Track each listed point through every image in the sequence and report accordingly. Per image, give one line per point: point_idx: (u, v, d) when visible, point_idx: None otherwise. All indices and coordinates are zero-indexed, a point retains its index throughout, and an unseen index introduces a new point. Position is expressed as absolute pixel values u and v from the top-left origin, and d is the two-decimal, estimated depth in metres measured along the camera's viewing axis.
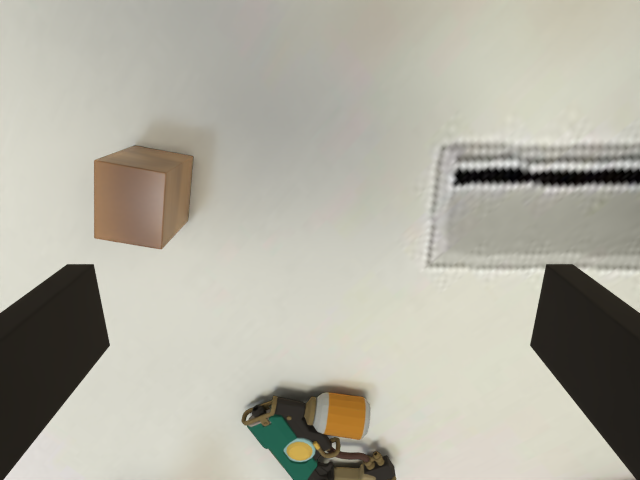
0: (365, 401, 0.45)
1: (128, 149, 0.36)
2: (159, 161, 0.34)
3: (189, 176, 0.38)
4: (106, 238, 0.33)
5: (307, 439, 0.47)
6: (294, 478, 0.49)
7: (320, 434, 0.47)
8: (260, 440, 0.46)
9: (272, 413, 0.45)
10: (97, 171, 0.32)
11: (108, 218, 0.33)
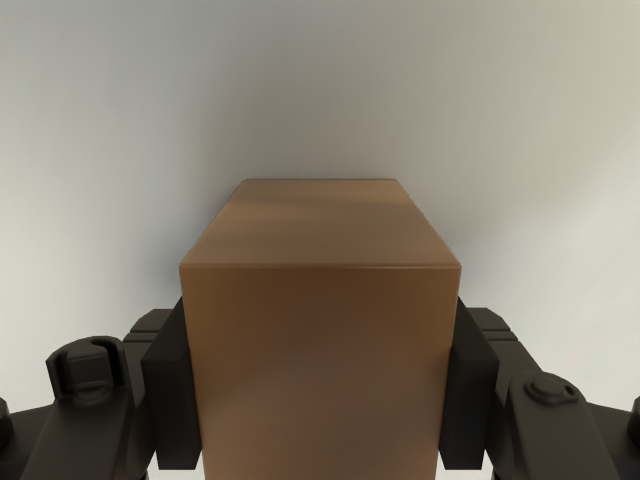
0: None
1: (243, 193, 0.13)
2: (362, 215, 0.11)
3: None
4: None
5: None
6: None
7: None
8: None
9: None
10: (196, 302, 0.08)
11: (251, 448, 0.09)
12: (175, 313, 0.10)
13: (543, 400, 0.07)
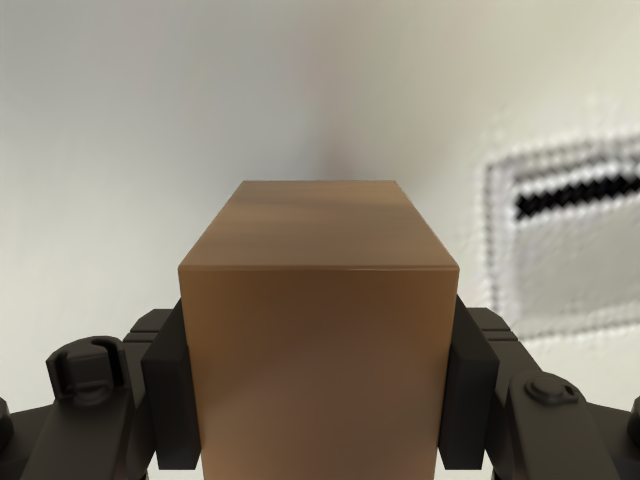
0: None
1: (242, 194, 0.13)
2: (361, 216, 0.11)
3: None
4: None
5: None
6: None
7: None
8: None
9: None
10: (194, 304, 0.08)
11: (250, 449, 0.09)
12: (175, 313, 0.10)
13: (543, 400, 0.07)
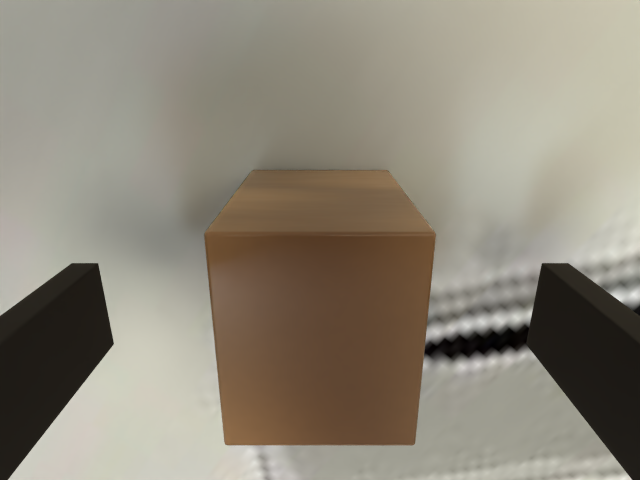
0: None
1: (252, 181, 0.15)
2: (356, 197, 0.13)
3: None
4: (258, 441, 0.12)
5: None
6: None
7: None
8: None
9: None
10: (218, 264, 0.10)
11: (262, 392, 0.11)
12: None
13: None
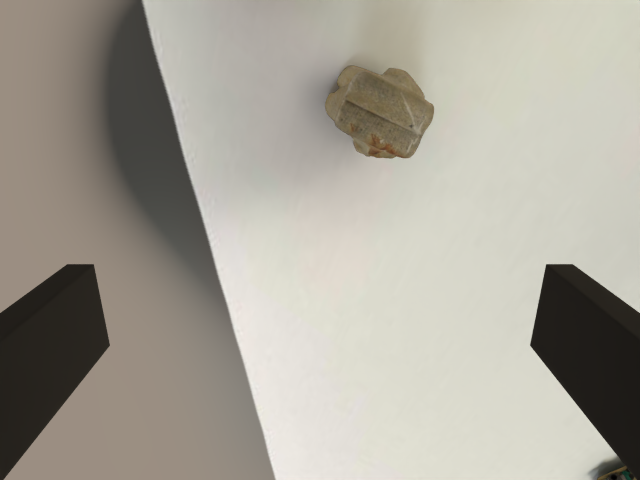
0: None
1: None
2: None
3: None
4: None
5: None
6: None
7: None
8: None
9: None
10: None
11: None
12: None
13: None
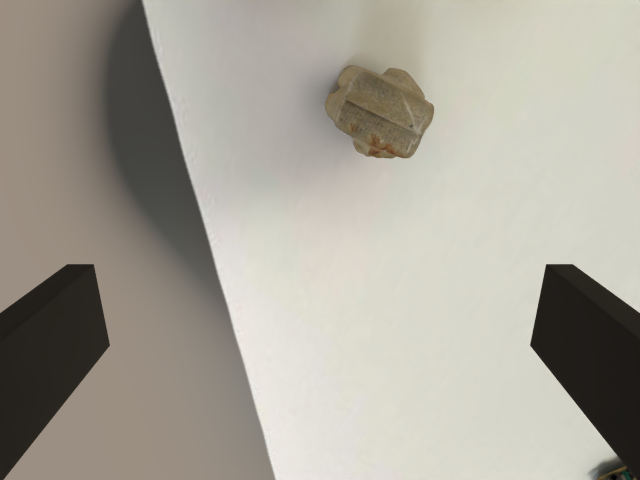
0: None
1: None
2: None
3: None
4: None
5: None
6: None
7: None
8: None
9: None
10: None
11: None
12: None
13: None
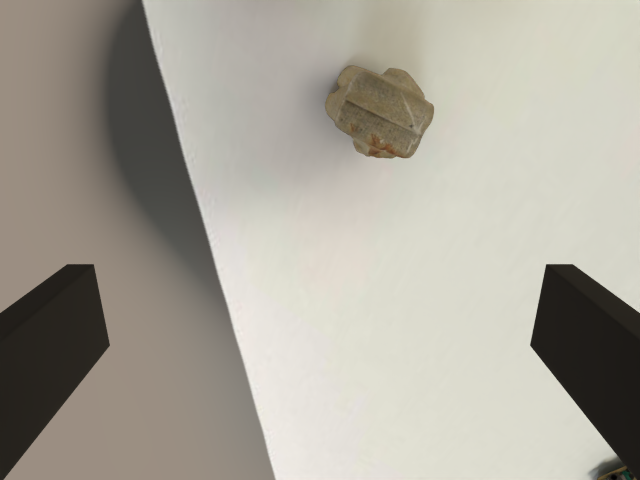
0: None
1: None
2: None
3: None
4: None
5: None
6: None
7: None
8: None
9: None
10: None
11: None
12: None
13: None
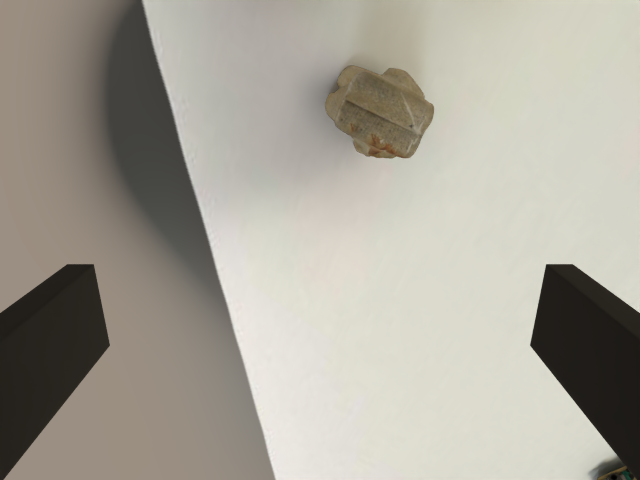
0: None
1: None
2: None
3: None
4: None
5: None
6: None
7: None
8: None
9: None
10: None
11: None
12: None
13: None
